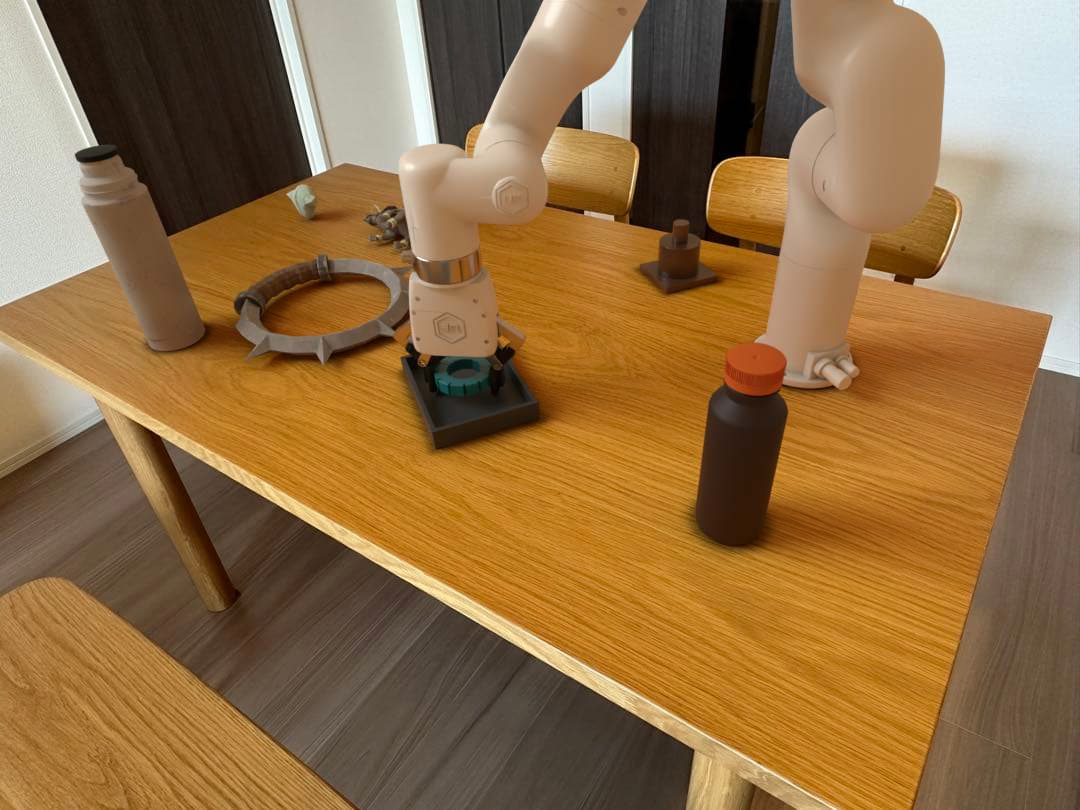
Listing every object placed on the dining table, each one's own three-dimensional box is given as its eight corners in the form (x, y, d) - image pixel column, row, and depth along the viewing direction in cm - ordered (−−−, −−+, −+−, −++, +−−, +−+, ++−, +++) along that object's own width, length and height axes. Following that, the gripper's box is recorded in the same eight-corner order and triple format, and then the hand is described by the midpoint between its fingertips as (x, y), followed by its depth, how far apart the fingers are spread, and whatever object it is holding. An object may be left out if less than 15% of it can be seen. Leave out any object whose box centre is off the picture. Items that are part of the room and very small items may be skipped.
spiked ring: (183, 336, 104) (311, 411, 90) (172, 310, 101) (302, 383, 87) (353, 252, 124) (479, 301, 110) (348, 228, 122) (477, 276, 107)
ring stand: (717, 281, 109) (723, 227, 104) (666, 293, 107) (670, 239, 101) (687, 258, 116) (691, 206, 110) (639, 269, 114) (641, 217, 108)
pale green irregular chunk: (289, 217, 139) (280, 184, 135) (306, 210, 142) (297, 178, 138) (314, 226, 135) (305, 192, 131) (331, 218, 138) (322, 185, 133)
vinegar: (762, 553, 67) (799, 386, 54) (691, 540, 68) (711, 376, 56) (764, 502, 72) (798, 340, 59) (697, 492, 73) (717, 332, 61)
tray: (539, 419, 85) (538, 402, 83) (435, 449, 81) (431, 432, 80) (495, 348, 97) (493, 333, 96) (403, 372, 94) (400, 356, 92)
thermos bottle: (138, 343, 104) (46, 155, 87) (183, 318, 109) (105, 136, 92) (171, 356, 100) (82, 163, 83) (216, 330, 106) (141, 143, 88)
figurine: (334, 211, 127) (396, 181, 138) (343, 242, 130) (402, 211, 141) (417, 223, 117) (476, 190, 128) (424, 257, 120) (481, 222, 132)
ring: (502, 387, 86) (500, 376, 85) (444, 402, 84) (442, 392, 83) (484, 356, 92) (482, 346, 91) (429, 370, 90) (427, 360, 89)
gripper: (363, 275, 76) (392, 402, 87) (518, 279, 74) (528, 409, 84) (385, 245, 82) (409, 368, 93) (529, 248, 79) (537, 374, 90)
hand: (466, 387), depth 89 cm, fingers closed on ring, 7 cm apart
